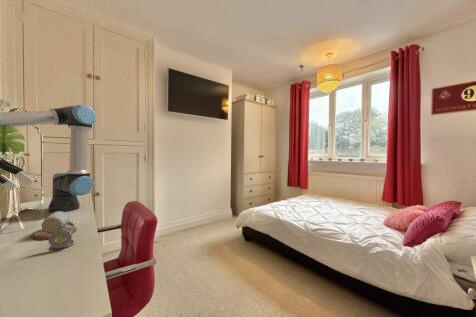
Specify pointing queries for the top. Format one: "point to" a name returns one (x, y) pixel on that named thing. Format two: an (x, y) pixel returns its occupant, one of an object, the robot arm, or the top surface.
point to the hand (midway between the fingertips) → (23, 185)
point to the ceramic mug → (57, 222)
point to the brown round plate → (47, 234)
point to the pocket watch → (61, 238)
